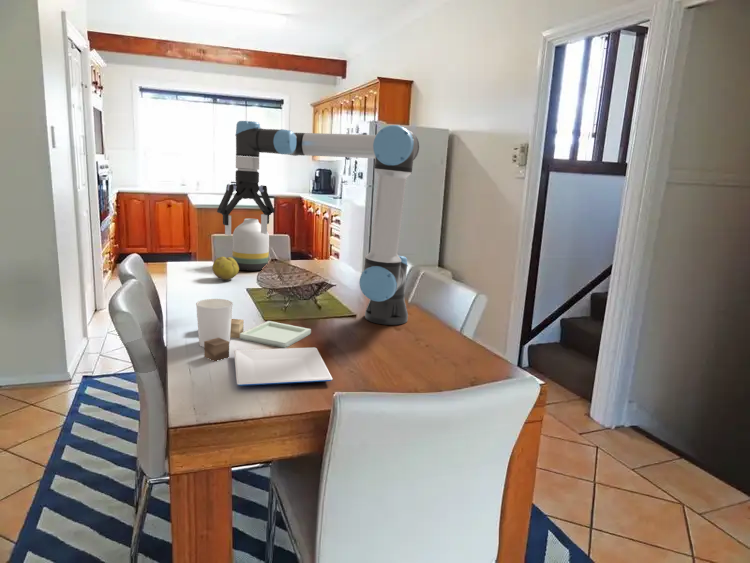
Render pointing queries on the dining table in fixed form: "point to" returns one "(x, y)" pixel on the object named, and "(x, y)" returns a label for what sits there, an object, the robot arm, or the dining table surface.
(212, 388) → the dining table surface
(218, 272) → the fruit
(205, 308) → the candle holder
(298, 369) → the plate
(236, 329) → the oak block
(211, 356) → the walnut block
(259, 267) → the vase
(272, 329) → the tray
